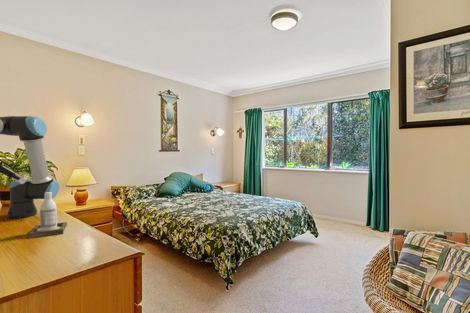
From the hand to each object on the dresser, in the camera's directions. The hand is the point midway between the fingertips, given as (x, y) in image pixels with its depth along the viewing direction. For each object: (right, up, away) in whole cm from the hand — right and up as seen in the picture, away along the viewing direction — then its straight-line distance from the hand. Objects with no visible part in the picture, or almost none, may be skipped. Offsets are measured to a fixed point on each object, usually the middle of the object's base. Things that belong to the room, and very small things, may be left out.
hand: (18, 178), depth 128 cm
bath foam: (+14, -28, +2) cm, 31 cm away
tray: (+14, -29, +2) cm, 32 cm away
